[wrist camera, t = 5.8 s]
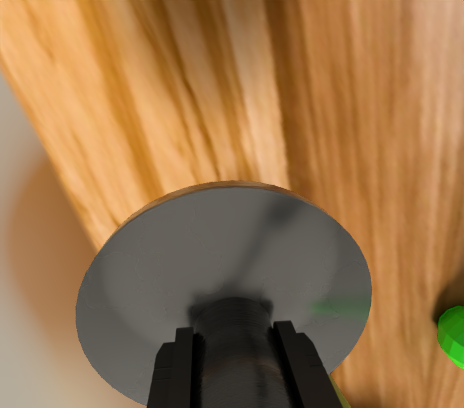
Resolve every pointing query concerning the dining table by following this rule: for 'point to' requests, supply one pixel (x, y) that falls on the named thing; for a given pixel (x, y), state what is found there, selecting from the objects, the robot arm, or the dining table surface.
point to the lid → (223, 291)
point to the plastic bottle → (452, 334)
